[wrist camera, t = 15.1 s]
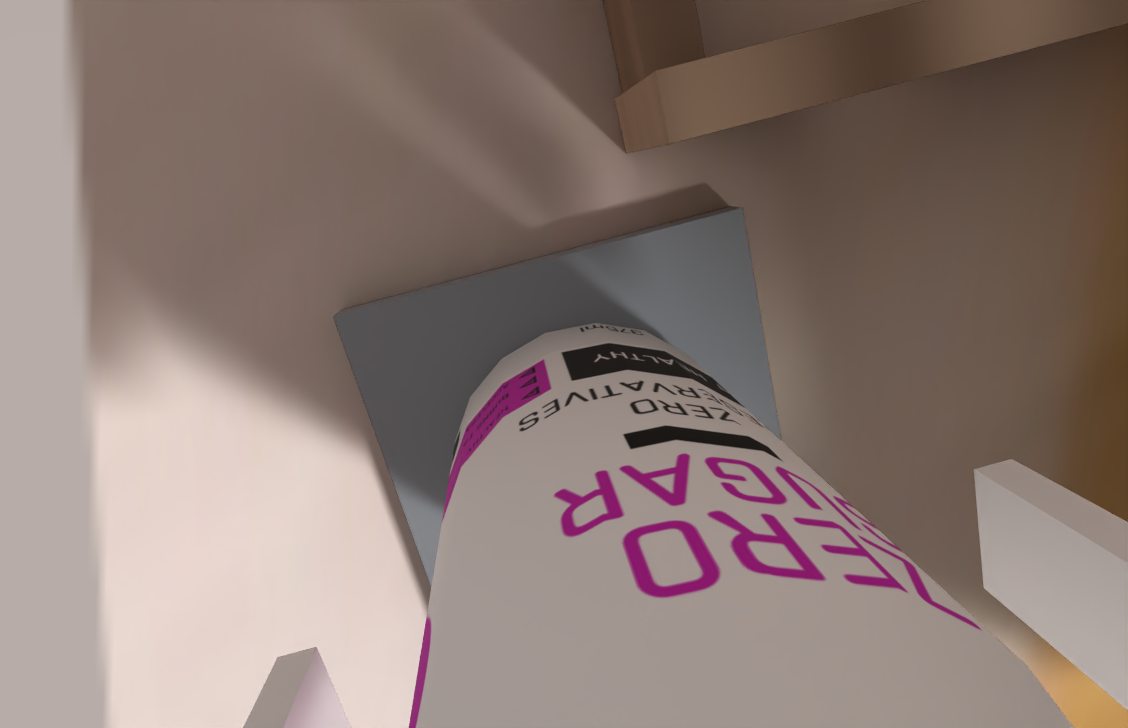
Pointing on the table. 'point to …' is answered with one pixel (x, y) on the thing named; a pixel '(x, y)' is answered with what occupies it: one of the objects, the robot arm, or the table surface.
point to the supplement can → (678, 569)
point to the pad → (536, 306)
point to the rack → (814, 58)
